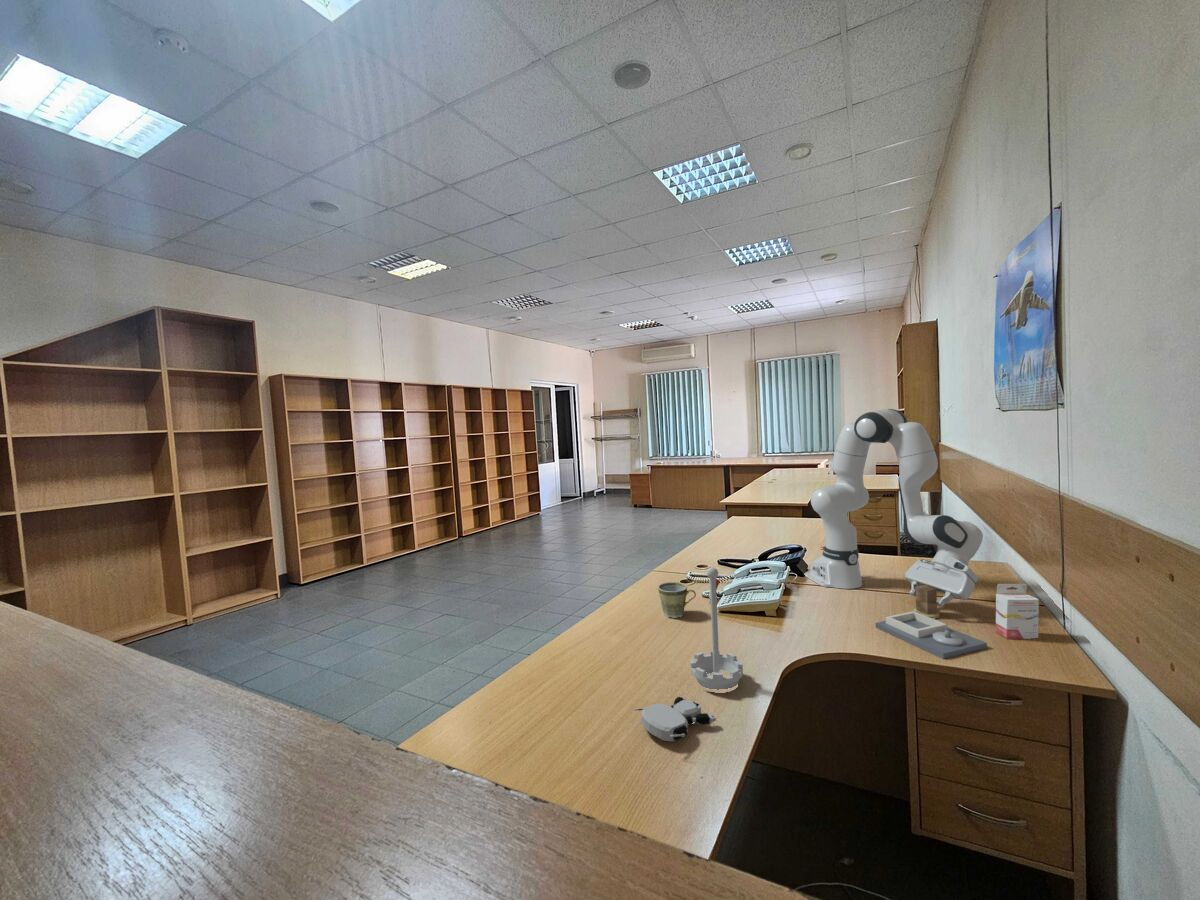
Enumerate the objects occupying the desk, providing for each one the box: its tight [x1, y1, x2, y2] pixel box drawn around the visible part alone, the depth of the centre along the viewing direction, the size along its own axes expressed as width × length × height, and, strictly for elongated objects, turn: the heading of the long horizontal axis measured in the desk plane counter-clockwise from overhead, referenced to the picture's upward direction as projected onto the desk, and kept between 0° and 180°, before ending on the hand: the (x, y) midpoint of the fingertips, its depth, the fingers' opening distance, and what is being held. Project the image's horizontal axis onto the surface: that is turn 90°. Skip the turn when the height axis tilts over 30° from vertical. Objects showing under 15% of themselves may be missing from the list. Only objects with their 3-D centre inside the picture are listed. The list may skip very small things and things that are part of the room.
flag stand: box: [690, 566, 744, 690], centre depth 126 cm, size 13×13×30 cm
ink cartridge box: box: [995, 583, 1040, 640], centre depth 143 cm, size 9×5×15 cm, turn 84°
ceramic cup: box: [657, 581, 697, 619], centre depth 171 cm, size 13×10×10 cm
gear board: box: [875, 610, 988, 660], centre depth 145 cm, size 22×16×4 cm
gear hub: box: [913, 585, 941, 619], centre depth 160 cm, size 7×7×9 cm
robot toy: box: [633, 695, 717, 742], centre depth 109 cm, size 12×4×15 cm
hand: (925, 599), depth 160 cm, fingers open, 8 cm apart
